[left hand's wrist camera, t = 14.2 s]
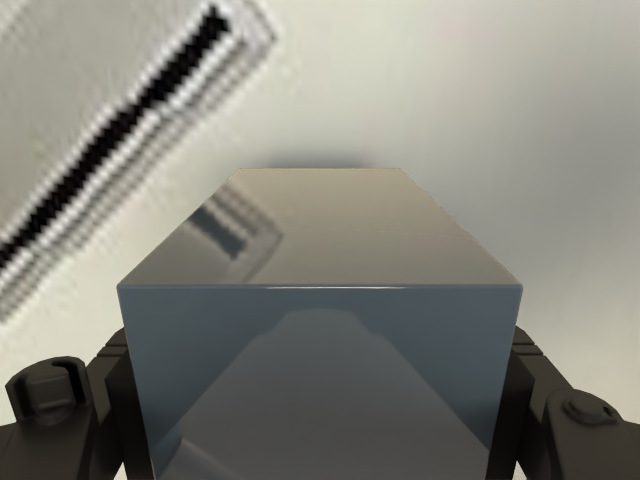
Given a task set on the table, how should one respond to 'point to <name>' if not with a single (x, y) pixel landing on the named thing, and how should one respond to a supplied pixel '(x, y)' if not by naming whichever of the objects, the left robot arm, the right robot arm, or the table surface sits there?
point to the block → (319, 333)
